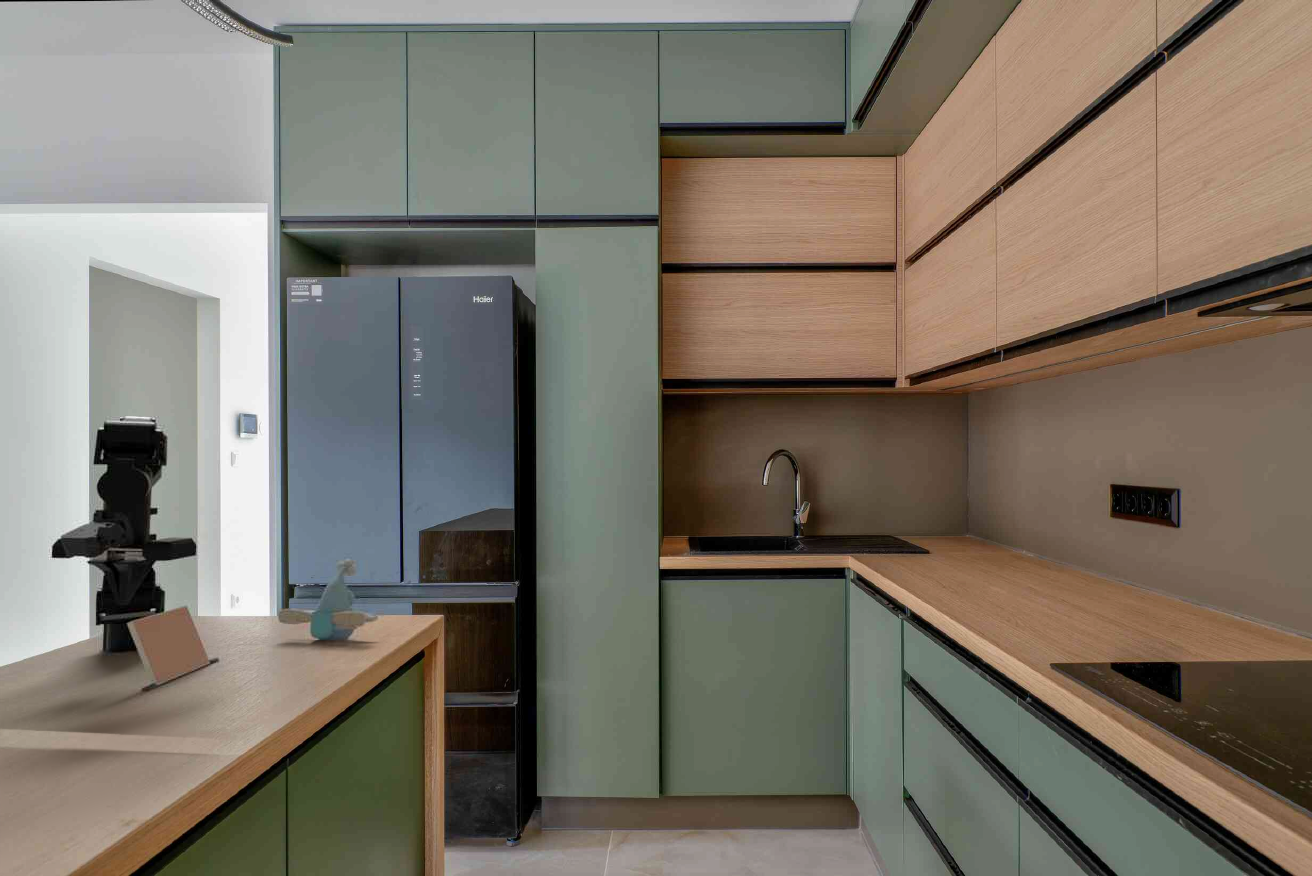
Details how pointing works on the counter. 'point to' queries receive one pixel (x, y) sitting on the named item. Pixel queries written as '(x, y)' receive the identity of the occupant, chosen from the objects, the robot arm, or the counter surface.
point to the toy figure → (332, 610)
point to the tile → (168, 644)
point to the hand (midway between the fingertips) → (123, 604)
